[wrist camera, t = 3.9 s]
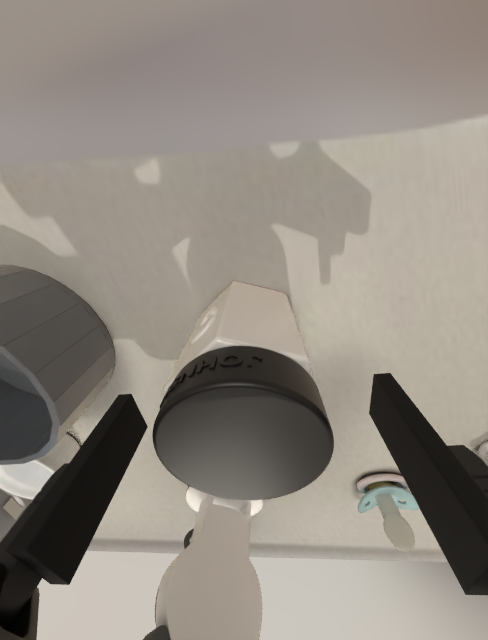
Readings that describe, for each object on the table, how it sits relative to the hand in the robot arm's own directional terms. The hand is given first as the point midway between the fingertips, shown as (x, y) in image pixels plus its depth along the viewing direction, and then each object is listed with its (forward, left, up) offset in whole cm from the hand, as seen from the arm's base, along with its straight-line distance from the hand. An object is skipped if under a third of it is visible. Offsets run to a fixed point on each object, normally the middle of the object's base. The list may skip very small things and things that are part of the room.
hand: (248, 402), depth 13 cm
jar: (0, 0, -9) cm, 9 cm away
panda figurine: (-8, -28, -9) cm, 31 cm away
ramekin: (-28, -14, -9) cm, 33 cm away
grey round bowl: (-21, +1, -9) cm, 23 cm away
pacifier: (+14, -26, -9) cm, 31 cm away
